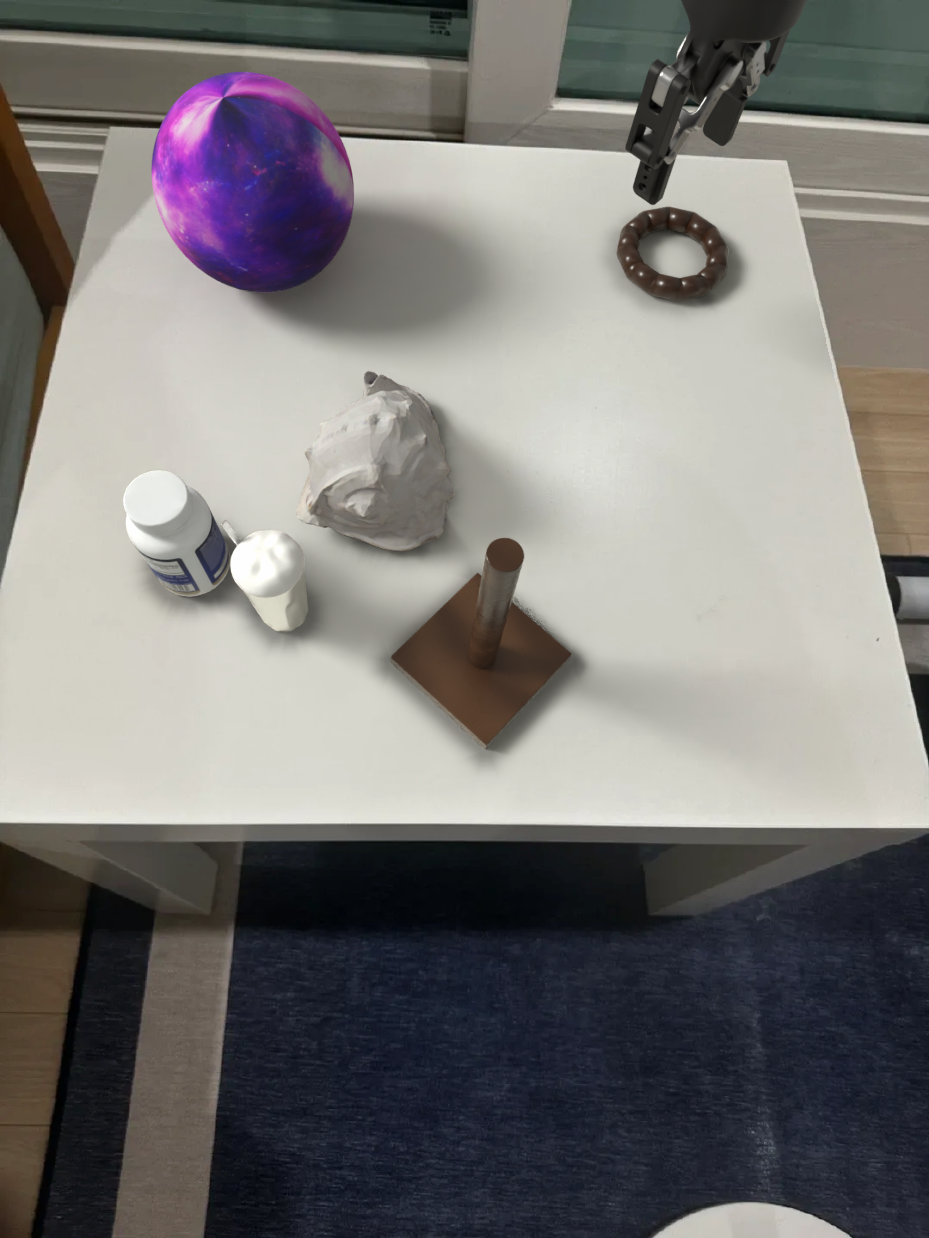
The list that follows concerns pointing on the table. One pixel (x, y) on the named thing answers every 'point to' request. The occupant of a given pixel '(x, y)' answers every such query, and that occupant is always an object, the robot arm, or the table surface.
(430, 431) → the seashell
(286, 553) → the milkshake
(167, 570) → the pill bottle
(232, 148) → the decorative orb
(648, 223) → the ring
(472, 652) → the stand
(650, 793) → the table surface
